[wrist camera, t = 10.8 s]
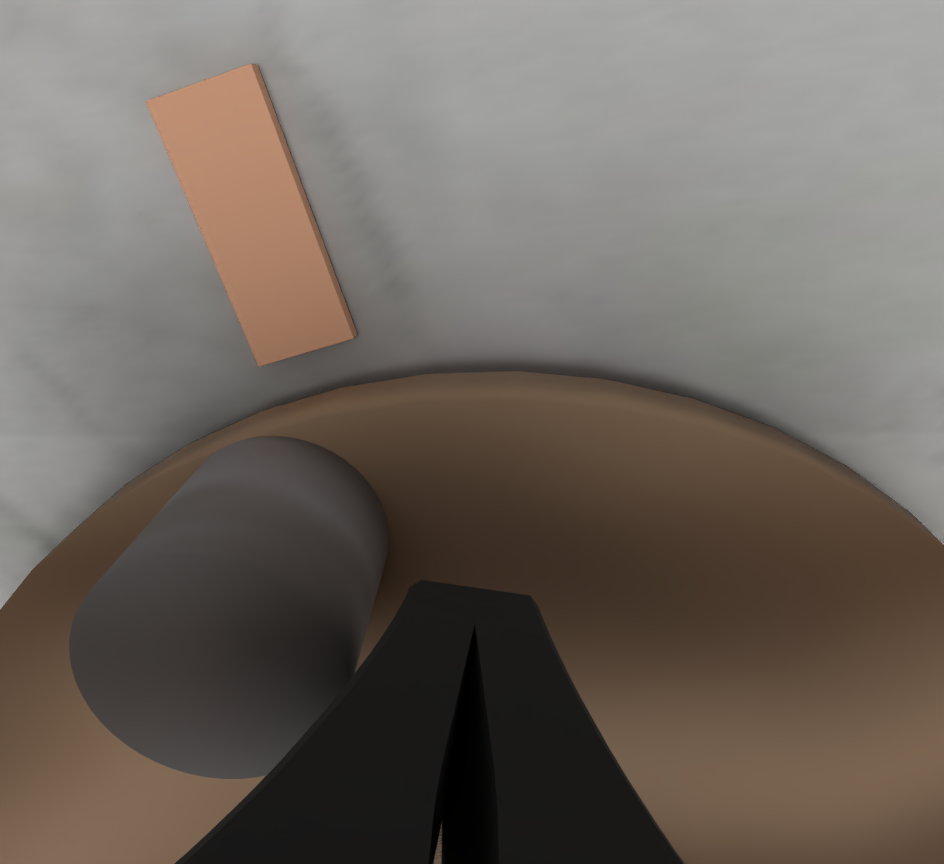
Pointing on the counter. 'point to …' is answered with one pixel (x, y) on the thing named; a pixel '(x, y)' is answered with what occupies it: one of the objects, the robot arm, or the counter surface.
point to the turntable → (502, 569)
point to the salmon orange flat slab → (253, 213)
